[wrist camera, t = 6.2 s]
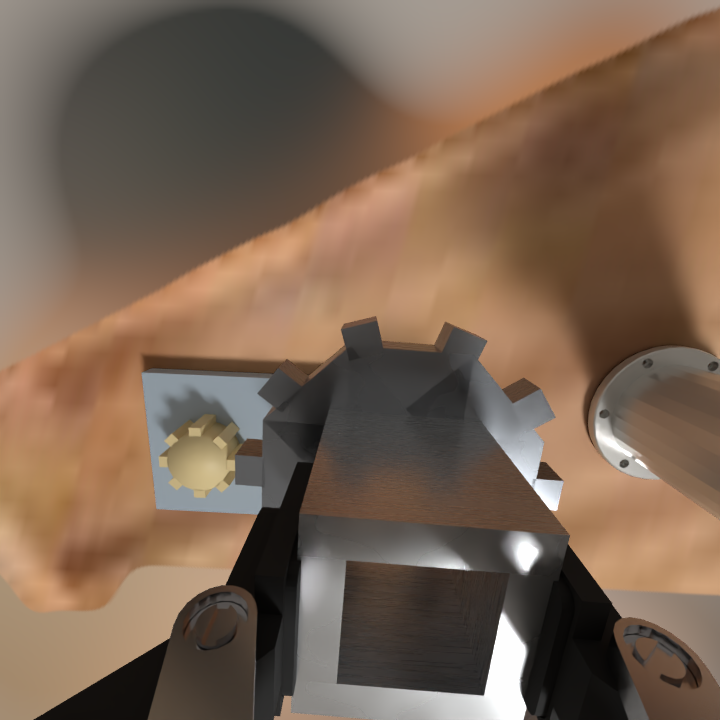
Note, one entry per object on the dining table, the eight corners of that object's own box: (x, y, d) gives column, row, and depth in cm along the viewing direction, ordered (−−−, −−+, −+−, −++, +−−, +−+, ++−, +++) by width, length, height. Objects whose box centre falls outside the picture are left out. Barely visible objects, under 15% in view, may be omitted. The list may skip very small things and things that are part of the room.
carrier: (364, 377, 33) (362, 412, 24) (359, 509, 36) (355, 579, 28) (151, 368, 33) (78, 398, 25) (165, 499, 36) (104, 565, 28)
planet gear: (574, 332, 12) (800, 393, 6) (516, 594, 14) (628, 834, 8) (247, 306, 12) (116, 339, 6) (247, 572, 14) (156, 795, 8)
